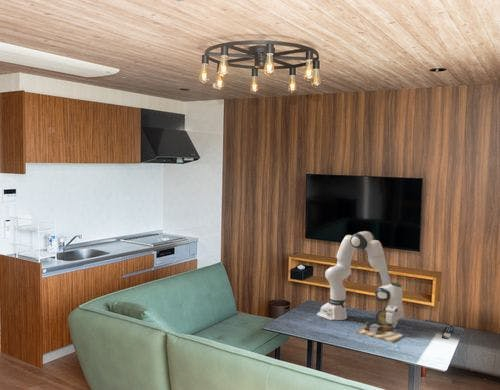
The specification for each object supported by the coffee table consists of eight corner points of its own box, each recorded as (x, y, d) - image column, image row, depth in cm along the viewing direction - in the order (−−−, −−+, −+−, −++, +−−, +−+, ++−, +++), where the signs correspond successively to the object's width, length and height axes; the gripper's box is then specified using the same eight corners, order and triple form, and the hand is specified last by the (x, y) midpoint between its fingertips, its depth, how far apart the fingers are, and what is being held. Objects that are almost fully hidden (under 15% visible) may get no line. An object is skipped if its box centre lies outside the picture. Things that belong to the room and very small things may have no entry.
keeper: (369, 332, 319) (369, 326, 319) (373, 330, 324) (373, 323, 324) (376, 334, 316) (376, 327, 315) (380, 331, 321) (380, 325, 320)
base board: (356, 333, 321) (356, 331, 321) (367, 327, 333) (367, 325, 333) (393, 342, 304) (393, 340, 304) (403, 336, 316) (403, 334, 315)
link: (364, 330, 322) (364, 323, 322) (363, 328, 327) (363, 320, 326) (393, 331, 320) (393, 324, 320) (392, 329, 325) (392, 322, 324)
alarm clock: (375, 326, 335) (376, 303, 334) (377, 323, 340) (378, 301, 339) (391, 328, 330) (392, 305, 329) (393, 326, 335) (393, 303, 334)
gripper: (397, 302, 336) (396, 322, 337) (384, 309, 320) (383, 329, 321) (405, 304, 332) (405, 324, 332) (393, 311, 316) (392, 331, 317)
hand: (394, 326), depth 327 cm, fingers closed
